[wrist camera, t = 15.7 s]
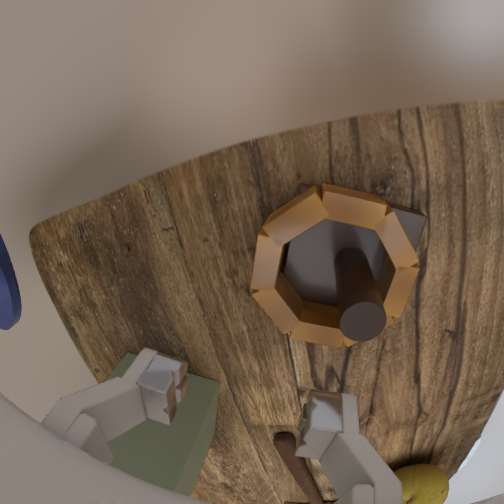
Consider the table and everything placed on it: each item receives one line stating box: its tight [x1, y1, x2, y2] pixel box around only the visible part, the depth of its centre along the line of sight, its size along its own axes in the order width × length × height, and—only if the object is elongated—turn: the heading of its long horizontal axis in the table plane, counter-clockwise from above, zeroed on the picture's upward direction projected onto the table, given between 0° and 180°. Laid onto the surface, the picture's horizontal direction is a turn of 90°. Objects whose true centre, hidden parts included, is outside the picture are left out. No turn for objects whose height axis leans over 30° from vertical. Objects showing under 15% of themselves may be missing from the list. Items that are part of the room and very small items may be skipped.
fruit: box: [393, 464, 449, 504], centre depth 26 cm, size 11×12×10 cm
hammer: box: [273, 433, 333, 504], centre depth 34 cm, size 12×3×30 cm
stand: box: [283, 183, 427, 341], centre depth 17 cm, size 9×9×8 cm
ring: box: [250, 183, 419, 348], centre depth 19 cm, size 10×10×3 cm
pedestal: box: [105, 352, 220, 496], centre depth 25 cm, size 11×11×16 cm
